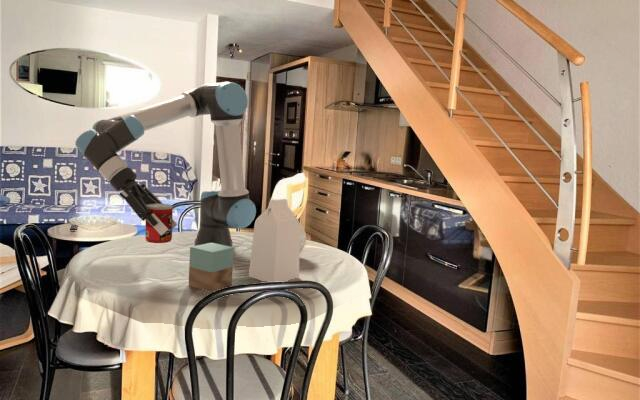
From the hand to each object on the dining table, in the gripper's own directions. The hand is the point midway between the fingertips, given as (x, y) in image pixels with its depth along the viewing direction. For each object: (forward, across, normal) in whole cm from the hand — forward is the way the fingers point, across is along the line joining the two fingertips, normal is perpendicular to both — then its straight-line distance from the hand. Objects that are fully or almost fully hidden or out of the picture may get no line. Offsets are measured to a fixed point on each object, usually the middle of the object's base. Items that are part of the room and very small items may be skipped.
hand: (169, 229), depth 148 cm
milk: (+34, -10, +11) cm, 37 cm away
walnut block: (+21, +4, -1) cm, 22 cm away
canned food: (0, 0, -5) cm, 5 cm away
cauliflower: (+33, -35, +10) cm, 49 cm away
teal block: (+17, +4, +3) cm, 18 cm away
